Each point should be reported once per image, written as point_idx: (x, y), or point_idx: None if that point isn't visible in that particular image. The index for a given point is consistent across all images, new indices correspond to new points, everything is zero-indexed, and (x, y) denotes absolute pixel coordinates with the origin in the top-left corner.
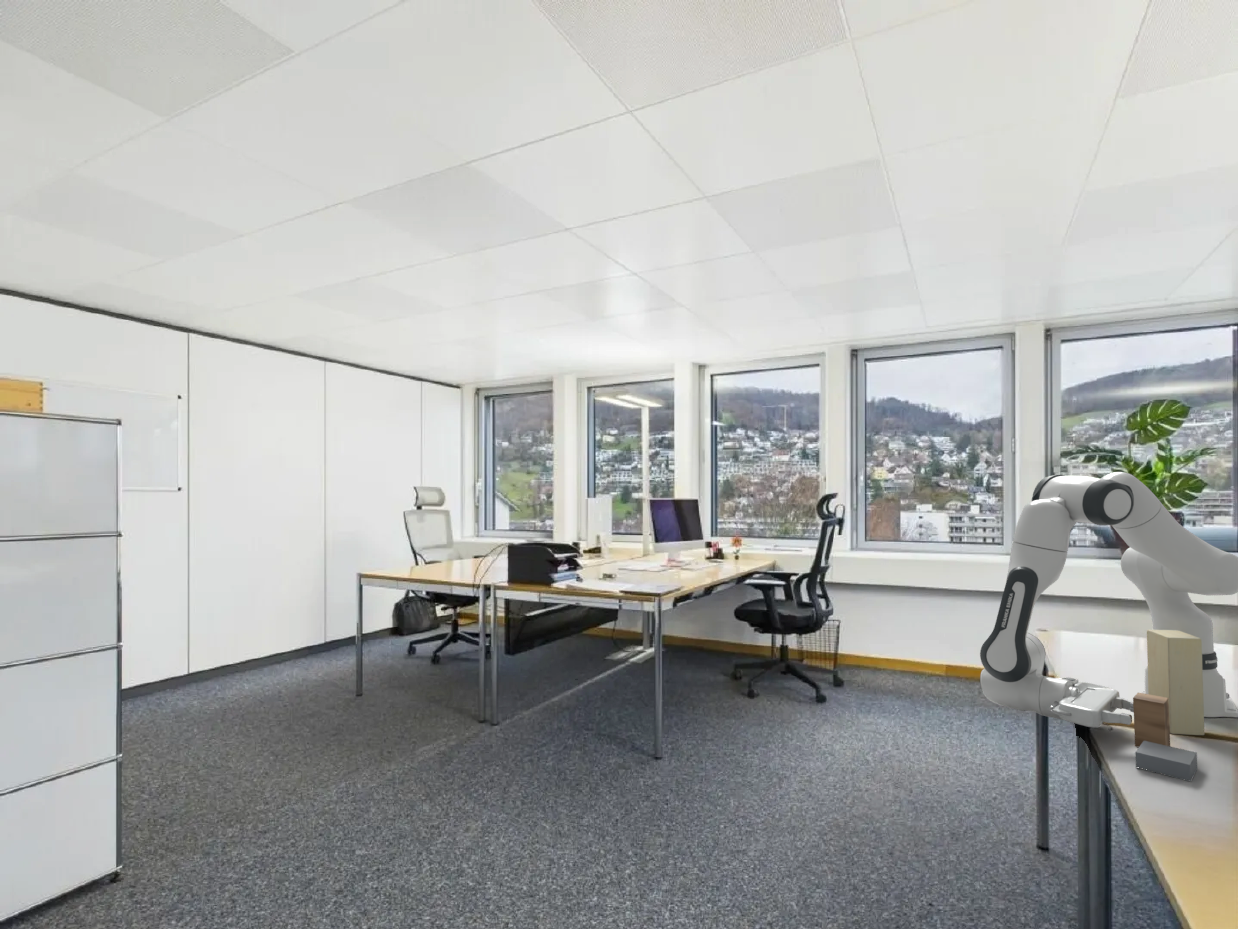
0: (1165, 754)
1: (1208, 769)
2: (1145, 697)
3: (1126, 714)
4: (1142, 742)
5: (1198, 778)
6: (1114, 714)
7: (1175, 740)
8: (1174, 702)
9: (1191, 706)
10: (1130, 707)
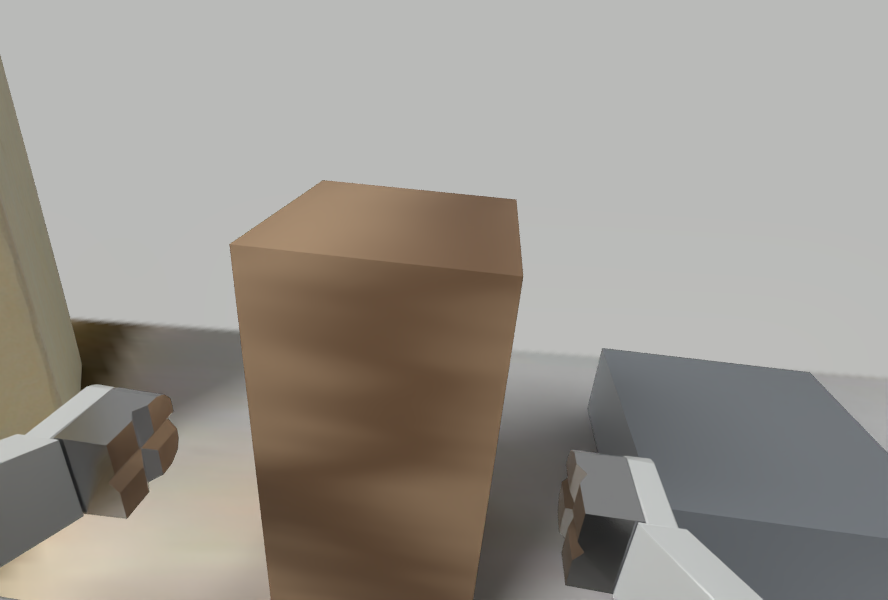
0: (791, 427)
1: (561, 386)
2: (415, 229)
3: (607, 474)
4: (709, 514)
5: None
6: (735, 581)
7: (202, 449)
8: (26, 258)
9: (40, 245)
10: (109, 482)
